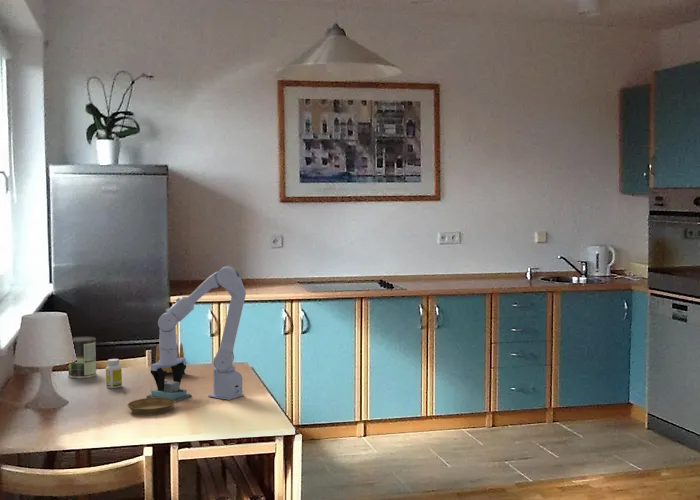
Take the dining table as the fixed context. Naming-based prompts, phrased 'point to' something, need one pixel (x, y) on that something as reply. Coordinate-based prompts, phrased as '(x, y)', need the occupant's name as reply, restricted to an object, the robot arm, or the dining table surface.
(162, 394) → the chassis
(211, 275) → the robot arm
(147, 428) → the dining table surface
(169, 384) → the block
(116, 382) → the supplement bottle
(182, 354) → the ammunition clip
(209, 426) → the dining table surface
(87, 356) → the coffee can
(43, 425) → the dining table surface
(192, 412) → the dining table surface
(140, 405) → the plant saucer
